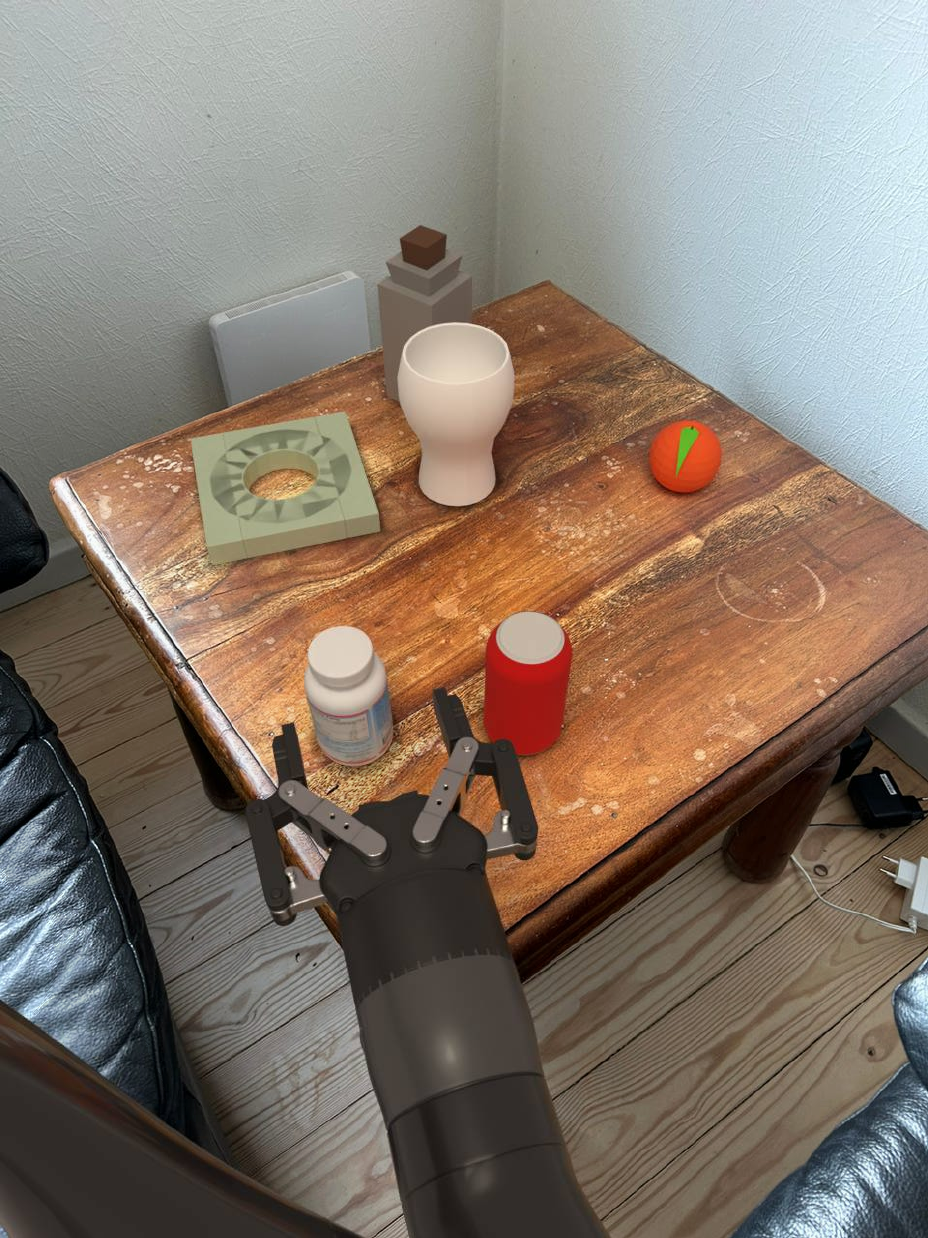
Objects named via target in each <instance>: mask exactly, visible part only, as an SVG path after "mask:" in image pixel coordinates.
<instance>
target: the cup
mask: <svg viewBox="0 0 928 1238" xmlns="http://www.w3.org/2000/svg"><path fill="white" fill-rule="evenodd" d="M397 379H398V393H399V400H400V402H399V405H400V408H401V409H402V413H403V414H404V417H405V419H406V422H407V424H408V426H409V427H410V428H411V430H412V431H413V432H414V434H415V435H416V437H417V438H418V440H419V444H420V449H421V460H420V465H419V470H418V471H419V473H418V485H419V488H420V490H421V492H422V493H423V494H424V495H425V496H426V497H427V498H428V499H429V500H431V501H433V502H435V503H437V504H440V505H445V506H450V507H464V506H465V507H466V506H469V505H470V506H471V505H473V504H477V503H479V502H481V501H482V500H485V499H486V498H487V497H488V496H489V495H490V494H491V493H492V491H493V490H494V488H495V486H496V471H495V465H494V459H493V454H492V451H493V445H494V441H495V438H496V436H497V435H498V434H499V432H500V431H501V430H502V428H503V427H504V424H505V423H506V421H507V418H508V416H509V413H510V411H511V409H512V406H513V403H514V393H515V371H514V366H513V362H512V356H511V352H510V348H509V346H508V344H507V342H506V341H505V340H504V339H503V337H502V336H500V335H499V334H498V333H497V332H495V331H493V329H489V328H487V327H484V326H482V325H478V324H474V323H472V324H470V323H456V322H454V323H443V324H438V325H434V326H430V327H427V328H425V329H423V330H421V331H419V332H417V333H416V334H414V335H413V336H412V337H410V339H409V340H408V341H407V343H406V344H405V345H404V348H403V352H402V357H401V362H400V367H399V372H398V377H397Z"/></svg>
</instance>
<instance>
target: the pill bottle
mask: <svg viewBox="0 0 928 1238" xmlns="http://www.w3.org/2000/svg"><path fill="white" fill-rule="evenodd" d="M307 662H308V664H307V666H306V668H305V671H304V677H303V683H304V686H303V687H304V692H305V695H306V700H307V703H308V707H309V708H308V709H309V712H310V716H311V720H312V724H313V728H314V732H315V737H316V741H317V744H318V746H319V748H320V750H321V751H322V753H324V755H325V756H326V757H327V758H328V759H330V760H331V761H333V762H335V763H337V764H339V765H342V766H346V767H362V766H366V765H369V764H371V763H373V762H375V761H377V760H378V759H380V758H381V757H382V756H383V755H384V754H385V753H386V752H387V750H388V749H389V747H390V746H391V744H392V741H393V738H394V722H393V714H392V706H391V700H390V692H389V684H388V677H387V671H386V667H385V664H384V662H383V660H382V659H381V657H380V656H379V655H378V654H377V652H375V651H374V647H373V643H372V641H371V638H370V637H369V636H368V635H367V633H365V631H363V630H362V629H360V628H357V627H354V626H350V625H349V626H348V625H338V626H332V627H330V628H326V629H324V630H323V631H321V632H320V633H318V634H316V636H315V637H314V638H313V639H312V641H311V642H310V644H309V646H308V650H307Z"/></svg>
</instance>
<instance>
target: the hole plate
mask: <svg viewBox="0 0 928 1238" xmlns="http://www.w3.org/2000/svg"><path fill="white" fill-rule="evenodd" d="M190 446H191V452H192V458H193V465H194V471H195V479H196V484H197V486H196V487H197V492H198V499H199V505H200V512H201V518H202V525H203V533H204V539H205V547H206V550H207V553H208V556H209V560H210V562H211V565H212V566H216V565H222V564H226V563H227V564H228V563H232V562H237V561H241V560H246V559H251V558H258V557H262V556H267V555H272V554H277V553H282V552H287V551H291V550H298V549H301V548H307V547H311V546H317V545H322V544H325V543H331V542H337V541H342V540H347V539H351V538H354V537H361V536H366V535H370V534H375V533H380V532H381V521H380V513H379V509H378V506H377V503H376V501H375V498H374V494H373V491H372V488H371V485H370V482H369V479H368V476H367V473H366V469H365V467H364V464H363V461H362V456H361V454H360V451H359V449H358V445H357V442H356V439H355V436H354V433H353V429H352V427H351V424H350V420H349V418H348V415H347V412H346V411H344V410H343V411H340V412H339V411H338V412H333V413H327V414H321V415H315V416H310V417H304V418H298V419H293V420H288V421H281V422H276V423H275V422H274V423H270V424H264V425H259V426H253V427H249V428H247V427H246V428H242V429H237V430H236V429H235V430H230V431H225V432H220V433H214V434H208V435H202V436H197V437H191V438H190ZM280 470H299V471H301V472H305V473H307V474H310V475H312V476H313V477H314V478H315V482H314V483H313V484H312V485H311V486H310V487H309V488H308V489H307V490H306V491H303V492H301V493H300V494H298V495H296V496H294V497H287V498H283V499H270V498H263V497H261V496H258V495H256V494H254V493H252V492H251V491H250V489H251V487H252V485H253V484H255V483H256V482H257V480H259V479H260V478H261V477H264V476H265V475H268V474H270V473H271V472H274V471H275V472H276V471H280Z"/></svg>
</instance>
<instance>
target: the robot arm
mask: <svg viewBox="0 0 928 1238" xmlns="http://www.w3.org/2000/svg"><path fill="white" fill-rule="evenodd" d="M431 693H432V706H433V711H434V715H435V718H436V722H437V724H438V727H439V731H440V734H441V737H442V741H443V743H444V747H445V749H446V752H447V756H448V760H447V763H446V765H445V767H443V768H442V769H441V770H440V772H439V774H438V777H437V779H436V781H435V784H434V786H433V788H432V790H431V792H430V794H422V793H419V792H418V789H416V790H412V791H408V792H404V793H402V794H400V795H397V796H395V797H394V798H392V799H390V800H382V801H381V800H373V801H368V802H365V803H362V804H358V806H357V807H358V809H357V810H355V811H354V812H352V814H349V813H348V812H346V811H345V810H344V809H342V808H341V807H340V806H338V805H337V804H335V802H333V801H331V800H330V799H328V798H326V797H324V798H321V797H320V796H318V794H316V793H315V792H313V791H311V790H310V789H309V784H308V780H307V775H306V770H305V765H304V760H303V754H302V750H301V746H300V745H301V744H300V740H299V735H298V733H297V728H296V724H295V722H294V721H292V722H287V723H284V724H283V723H282V724H281V725H280V726H281V732H282V734H278V735H276V736H273V739H272V743H271V747H272V748H271V749H272V753H273V760H274V766H275V771H276V776H277V780H278V783H277V784H278V785H277V788H276V790H275V792H274V793H272V794H271V795H269V796H268V797H266V798H265V799H262V798H256V799H252V800H251V801H249V802H248V803H247V805H246V806H245V809H244V813H245V818H246V823H247V826H248V827H247V828H248V832H249V837H250V840H251V845H252V850H253V853H254V859H255V862H256V867H257V871H258V876H259V881H260V886H261V889H262V894H263V898H264V902H265V904H266V906H267V909H268V911H269V913H270V916H271V918H272V920H273V922H274V923H275V924H276V925H277V926H279V927H287V926H290V925H291V924H293V923H294V922H295V920H296V919H297V915H298V914H299V913H301V912H305V911H308V910H311V909H313V908H317V907H320V906H323V905H325V904H326V905H327V906H328V907H329V908H330V909H331V910H332V912H333V913H334V915H335V916H336V921H337V926H338V930H339V931H338V932H339V936H340V940H341V947H342V951H343V956H344V960H345V966H346V970H347V976H348V980H349V986H350V990H351V995H352V1000H353V1004H354V1011H355V1014H356V1015H355V1016H356V1021H357V1024H358V1025H357V1026H358V1029H359V1043H360V1046H361V1049H362V1052H363V1053H364V1059H365V1063H366V1068H367V1072H368V1076H369V1081H370V1083H371V1086H372V1090H373V1092H374V1095H375V1098H376V1101H377V1104H378V1106H379V1109H380V1112H381V1116H382V1120H383V1124H384V1128H385V1130H386V1131H387V1132H386V1137H387V1142H388V1147H389V1151H390V1157H391V1161H392V1167H393V1171H394V1176H395V1180H396V1185H397V1190H398V1196H399V1201H400V1203H401V1210H402V1214H403V1219H404V1222H405V1226H406V1231H407V1235H408V1238H612V1236H611V1235H610V1233H609V1231H608V1230H607V1228H606V1227H605V1225H604V1223H603V1221H601V1219H600V1217H599V1216H598V1214H597V1212H596V1211H595V1209H594V1207H593V1205H592V1204H591V1202H590V1201H589V1199H588V1197H587V1195H586V1194H585V1192H584V1190H583V1188H582V1187H581V1184H580V1183H579V1181H578V1177H577V1176H576V1173H575V1169H574V1166H573V1161H572V1159H571V1155H570V1152H569V1148H568V1146H567V1143H566V1139H565V1136H564V1132H563V1130H562V1126H561V1123H560V1120H559V1117H558V1114H557V1110H556V1107H555V1105H554V1101H553V1098H552V1095H551V1092H550V1088H549V1086H548V1083H547V1080H546V1075H545V1072H544V1068H543V1064H542V1059H541V1053H540V1049H539V1043H538V1037H537V1032H536V1028H535V1024H534V1020H533V1016H532V1013H531V1009H530V1007H529V1003H528V1000H527V997H526V994H525V990H524V987H523V984H522V981H521V978H520V975H519V972H518V968H517V965H516V962H515V959H514V956H513V953H512V950H511V946H510V944H509V941H508V936H507V934H506V931H505V928H504V924H503V921H502V918H501V916H500V913H499V909H498V906H497V903H496V900H495V896H494V894H493V892H492V891H493V890H492V887H491V884H490V882H489V878H488V875H487V870H486V866H487V862H488V860H491V859H497V858H502V857H506V856H511V855H514V857H515V858H516V859H518V860H520V861H524V862H525V861H529V860H531V859H533V858H534V857H535V855H536V853H537V845H538V837H539V824H538V821H537V817H536V815H535V812H534V811H535V810H534V808H533V805H532V802H531V798H530V795H529V791H528V788H527V784H526V782H525V778H524V775H523V771H522V767H521V765H520V760H519V757H518V755H517V754H516V751H515V748H514V745H513V743H512V742H511V741H509V740H507V739H498V740H496V741H495V742H483V741H480V740H478V739H477V738H476V736H475V735H474V733H473V730H472V727H471V724H470V722H469V719H468V715H467V713H466V710H465V707H464V705H463V701H462V699H461V698H460V697H459V696H458V695H457V693H454V694H450V695H448V691H447V689H446V687H445V686H442V687H438V688H434V689H432V692H431ZM477 776H483V777H492V781H493V785H494V788H495V793H496V795H497V796H496V797H497V799H498V804H499V806H500V810H499V811H497V813H495V815H494V817H493V828H492V830H491V831H489V833H487V834H484V833H483V832H482V831H481V830H480V828H478V827H476V826H475V825H474V824H472V823H471V822H469V821H468V820H466V819H465V818H464V817H462V816H463V813H464V810H465V807H466V805H467V804H466V803H467V799H468V796H469V795H470V794H469V793H470V792H471V789H472V787H473V785H474V782H475V781H476V779H477ZM290 824H293V825H294V826H295V827H297V828H298V829H299V830H301V831H302V832H303V833H305V835H307V836H309V837H310V838H311V839H312V840H313V841H314V843H315V844H316V845H317V846H318V847H319V848H321V849H322V850H323V851H324V852H326V853H327V854H328V856H327V859H326V861H325V862H324V865H323V866H322V868H321V871H320V873H319V876H318V879H309V878H308V877H306V875H305V874H304V872H303V870H302V869H301V867H298V866H295V865H290V866H287V865H286V861H285V856H284V853H283V850H282V845H281V841H280V836H279V832H278V831H280V830H282V829H283V828H285V827H287V826H288V825H290ZM0 1226H1V1228H2V1229H3V1231H4V1232H5V1234H6V1235H7V1237H8V1238H366V1237H365V1236H363V1235H361V1234H359V1233H357V1232H355V1231H353V1230H351V1229H349V1228H347V1227H345V1226H343V1225H341V1224H339V1223H337V1222H335V1221H333V1220H332V1219H330V1218H327V1217H326V1216H323V1215H321V1214H319V1213H318V1212H315V1211H313V1210H311V1209H309V1208H308V1207H305V1206H303V1205H301V1204H299V1203H298V1202H295V1201H293V1200H292V1199H290V1198H287V1197H286V1196H283V1195H282V1194H280V1193H277V1192H276V1191H274V1190H272V1189H271V1188H269V1187H267V1186H265V1185H263V1184H262V1183H260V1182H258V1181H257V1180H255V1179H253V1178H252V1177H250V1176H248V1175H246V1174H244V1173H243V1172H241V1171H239V1170H237V1169H235V1168H234V1167H232V1166H231V1165H229V1164H228V1163H226V1162H225V1161H223V1160H221V1159H219V1158H218V1157H217V1156H215V1155H213V1154H212V1153H210V1152H209V1151H207V1150H205V1149H204V1148H203V1147H201V1146H200V1145H198V1144H197V1143H195V1142H193V1141H192V1140H190V1139H189V1138H188V1137H186V1136H185V1135H183V1134H182V1133H181V1132H179V1131H178V1130H177V1129H175V1128H174V1127H172V1126H171V1125H169V1124H168V1123H166V1122H165V1121H164V1120H162V1119H161V1118H160V1117H158V1116H157V1115H155V1114H154V1113H153V1112H152V1111H151V1110H149V1109H148V1108H147V1107H145V1106H144V1105H142V1104H141V1103H140V1102H138V1100H136V1099H135V1098H134V1097H132V1096H131V1095H129V1094H128V1093H127V1092H126V1091H124V1090H123V1089H122V1088H120V1087H119V1086H117V1084H115V1083H113V1082H112V1081H111V1080H110V1079H109V1078H107V1077H106V1076H105V1075H103V1074H102V1073H101V1072H100V1071H98V1070H97V1069H95V1068H94V1067H93V1066H92V1065H90V1064H89V1063H87V1062H86V1060H83V1058H81V1057H80V1056H78V1055H77V1054H76V1053H74V1052H73V1051H72V1050H71V1049H69V1048H68V1047H67V1046H66V1045H64V1044H62V1042H60V1041H58V1040H57V1039H56V1038H55V1037H53V1036H51V1034H49V1033H48V1032H46V1031H45V1030H44V1029H42V1028H41V1027H39V1026H38V1025H36V1023H34V1022H32V1021H31V1020H30V1019H29V1018H27V1017H26V1016H24V1015H23V1014H22V1013H20V1012H19V1011H18V1010H16V1009H15V1008H13V1007H12V1006H11V1005H10V1004H8V1003H7V1002H5V1001H4V1000H2V999H1V998H0Z"/></svg>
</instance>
